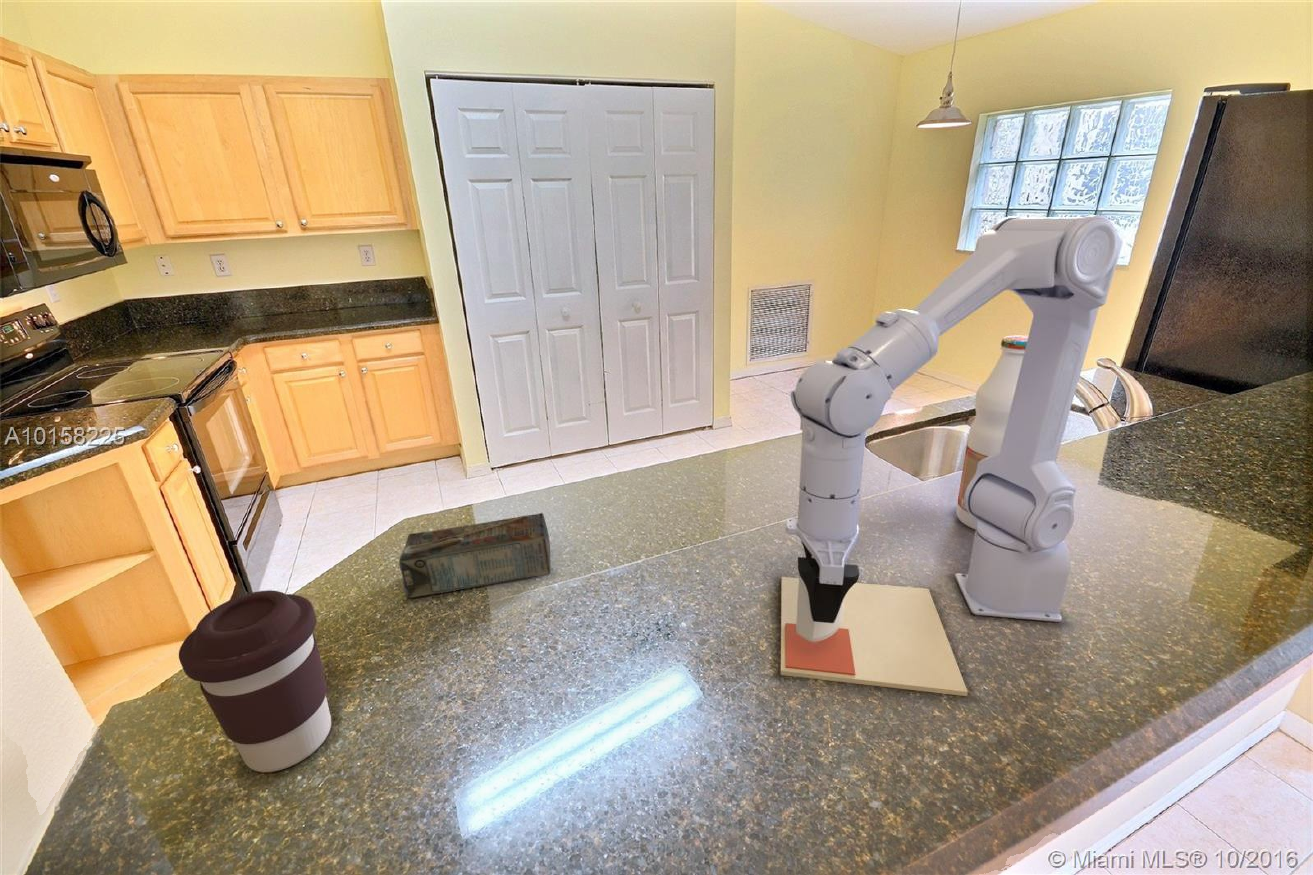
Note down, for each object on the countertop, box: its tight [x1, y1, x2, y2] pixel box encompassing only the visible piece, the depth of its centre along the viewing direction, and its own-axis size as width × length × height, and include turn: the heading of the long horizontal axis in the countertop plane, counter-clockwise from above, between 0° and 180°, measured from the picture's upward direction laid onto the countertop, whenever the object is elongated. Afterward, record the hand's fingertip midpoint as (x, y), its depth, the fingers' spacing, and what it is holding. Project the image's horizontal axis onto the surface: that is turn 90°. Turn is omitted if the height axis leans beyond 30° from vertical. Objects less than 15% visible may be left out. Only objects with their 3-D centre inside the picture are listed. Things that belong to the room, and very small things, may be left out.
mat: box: [780, 576, 969, 697], centre depth 66 cm, size 18×17×1 cm
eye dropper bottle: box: [796, 556, 844, 642], centre depth 60 cm, size 4×6×12 cm
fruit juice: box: [956, 334, 1029, 531], centre depth 83 cm, size 9×9×28 cm
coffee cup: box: [178, 589, 332, 773], centre depth 53 cm, size 10×10×15 cm
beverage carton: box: [398, 512, 551, 599], centre depth 80 cm, size 8×19×7 cm, turn 103°
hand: (821, 602), depth 61 cm, fingers closed on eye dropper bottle, 5 cm apart
